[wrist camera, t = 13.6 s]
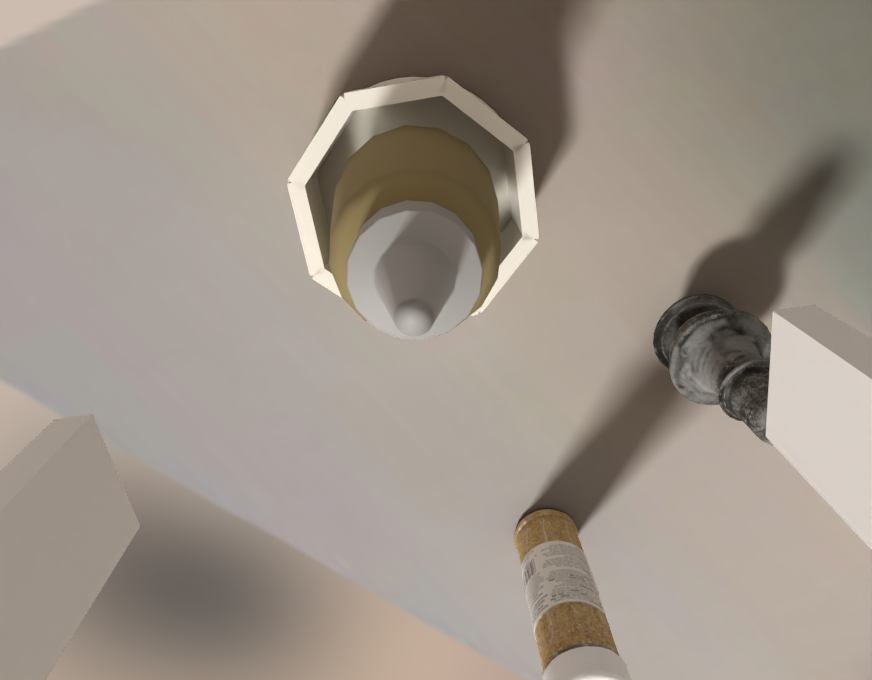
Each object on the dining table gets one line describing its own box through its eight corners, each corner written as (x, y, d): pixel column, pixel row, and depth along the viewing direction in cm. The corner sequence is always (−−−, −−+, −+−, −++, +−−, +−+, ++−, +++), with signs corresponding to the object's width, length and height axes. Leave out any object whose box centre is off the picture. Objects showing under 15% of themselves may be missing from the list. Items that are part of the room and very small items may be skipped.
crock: (387, 25, 32) (382, 18, 27) (568, 168, 35) (590, 182, 30) (266, 218, 35) (245, 240, 31) (439, 333, 38) (442, 367, 34)
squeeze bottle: (510, 143, 33) (600, 218, 17) (465, 284, 36) (504, 464, 20) (360, 99, 32) (300, 132, 16) (327, 248, 35) (247, 406, 19)
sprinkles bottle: (555, 565, 46) (606, 748, 34) (500, 543, 45) (532, 723, 33) (589, 519, 44) (655, 693, 32) (533, 496, 43) (579, 666, 31)
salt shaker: (644, 301, 38) (737, 395, 27) (743, 280, 38) (877, 368, 27) (652, 386, 40) (740, 505, 29) (745, 367, 40) (869, 481, 29)
